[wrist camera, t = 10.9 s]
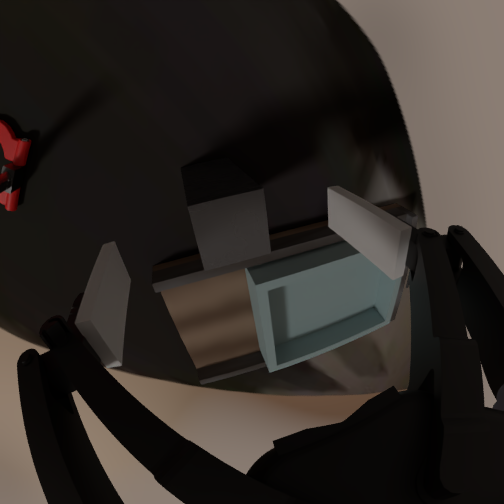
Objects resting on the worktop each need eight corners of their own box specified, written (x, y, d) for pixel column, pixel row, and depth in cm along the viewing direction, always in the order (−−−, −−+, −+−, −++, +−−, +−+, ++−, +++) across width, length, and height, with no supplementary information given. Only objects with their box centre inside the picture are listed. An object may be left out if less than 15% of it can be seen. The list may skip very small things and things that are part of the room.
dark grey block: (180, 167, 22) (187, 206, 13) (226, 157, 22) (263, 188, 14) (190, 210, 24) (204, 271, 15) (233, 199, 24) (271, 253, 16)
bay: (152, 266, 25) (151, 290, 22) (396, 203, 30) (417, 215, 27) (197, 366, 34) (202, 390, 31) (379, 303, 39) (394, 319, 36)
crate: (243, 261, 27) (255, 285, 23) (387, 221, 30) (409, 235, 26) (259, 349, 34) (269, 372, 31) (374, 306, 37) (389, 322, 34)
